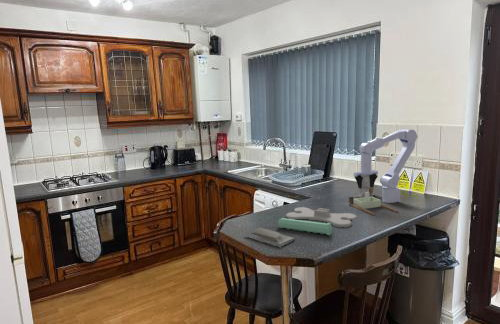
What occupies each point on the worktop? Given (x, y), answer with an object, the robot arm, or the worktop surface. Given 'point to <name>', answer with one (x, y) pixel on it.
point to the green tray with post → (367, 201)
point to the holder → (322, 216)
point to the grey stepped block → (271, 236)
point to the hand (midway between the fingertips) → (365, 187)
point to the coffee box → (366, 185)
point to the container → (306, 226)
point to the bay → (365, 209)
